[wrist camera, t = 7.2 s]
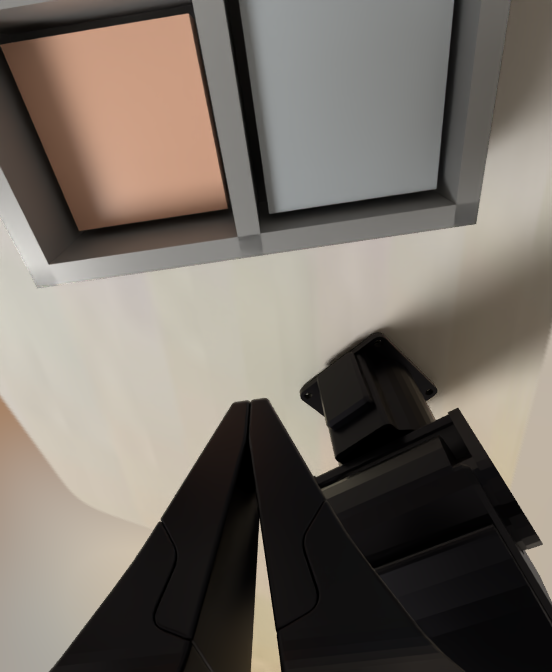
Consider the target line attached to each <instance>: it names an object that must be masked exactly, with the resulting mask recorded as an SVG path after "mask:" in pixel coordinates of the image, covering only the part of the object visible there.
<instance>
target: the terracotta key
mask: <svg viewBox="0 0 552 672" xmlns="http://www.w3.org/2000/svg"><path fill="white" fill-rule="evenodd" d="M0 46H1V49H2V51H3V53H4V56H5V58H6V60H7V63H8V65H9V67H10V70H11V72H12V74H13V77H14V79H15V82H16V84H17V86H18V89H19V91H20V93H21V96H22V98H23V100H24V103H25V105H26V107H27V110H28V112H29V114H30V117H31V119H32V122H33V124H34V126H35V129H36V131H37V133H38V136H39V138H40V140H41V143H42V145H43V147H44V150H45V152H46V154H47V157H48V159H49V162H50V164H51V166H52V169H53V171H54V173H55V176H56V178H57V180H58V183H59V185H60V187H61V190H62V192H63V194H64V197H65V199H66V202H67V204H68V206H69V209H70V211H71V213H72V216H73V218H74V220H75V223H76V225H77V227H78V230H79V231H83V230H89V229H96V228H103V227H109V226H116V225H123V224H129V223H136V222H143V221H149V220H156V219H163V218H169V217H176V216H182V215H189V214H196V213H202V212H209V211H216V210H222V209H228V204H229V194H228V189H227V183H226V178H225V173H224V168H223V163H222V158H221V153H220V148H219V142H218V137H217V132H216V127H215V122H214V117H213V112H212V107H211V101H210V96H209V91H208V86H207V81H206V76H205V71H204V65H203V60H202V55H201V50H200V45H199V40H198V35H197V30H196V24H195V19H194V18H193V17H192V16H191V15H190V14H189V13H188V14H182V15H176V16H170V17H164V18H158V19H152V20H146V21H140V22H133V23H127V24H121V25H115V26H109V27H103V28H97V29H91V30H85V31H79V32H73V33H67V34H61V35H55V36H49V37H43V38H37V39H31V40H25V41H19V42H13V43H7V44H1V45H0Z"/></svg>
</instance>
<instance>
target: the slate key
mask: <svg viewBox="0 0 552 672" xmlns="http://www.w3.org/2000/svg"><path fill="white" fill-rule="evenodd" d="M239 5H240V12H241V19H242V26H243V33H244V40H245V47H246V54H247V61H248V68H249V75H250V82H251V89H252V96H253V103H254V110H255V117H256V124H257V131H258V138H259V145H260V152H261V159H262V166H263V173H264V180H265V187H266V195H267V202H268V209H269V214H272V213H278V212H285V211H292V210H298V209H305V208H312V207H318V206H325V205H332V204H339V203H345V202H352V201H359V200H365V199H372V198H379V197H385V196H392V195H399V194H405V193H412V192H419V191H426V190H432V189H436V188H437V177H438V166H439V156H440V145H441V134H442V124H443V113H444V102H445V92H446V81H447V70H448V60H449V49H450V38H451V28H452V17H453V6H454V0H239Z"/></svg>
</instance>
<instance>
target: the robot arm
mask: <svg viewBox="0 0 552 672" xmlns="http://www.w3.org/2000/svg"><path fill="white" fill-rule="evenodd" d="M377 340H381V341H380V342H379V343H375V342H376V341H377ZM429 389H430V390H429ZM427 390H428V391H427ZM306 393H310V394H308V395H306ZM436 393H437V389H436V387H435V385H434V384H433V383H432V382H431V381H430V380H429V379H428V378H427V377H426V376H425V375H424V374H423V373H422V372H421V371H420V370H419V369H418V368H417V367H416V366H415V365H414V364H413V363H412V362H411V361H410V360H409V359H408V358H407V357H406V356H405V355H404V354H403V353H402V352H401V351H400V350H399V349H398V348H397V347H396V346H395V345H394V344H393V343H392V342H391V341H390V340H389V339H388V338H387V337H386V336H385V335H383V334H382V333H374V334H373V335H371V336H370V337H368V338H367V339H366V340H364V341H363V342H362V343H360V344H359V345H358V346H356V347H355V348H354V349H353V350H351V351H350V352H349V353H346V354H345V355H344V356H342V357H341V358H340V359H338V360H337V361H336V362H335V363H333V364H332V365H331V366H329V367H328V368H327V369H325V370H324V371H323V372H321V373H320V374H319V375H318V376H317V377H316V378H314V379H313V380H312V381H310V382H309V383H308V384H306V385H305V386H304V387H302V388H301V390H300V397H301V399H302V400H303V401H304V402H306V403H307V404H308V405H310V406H311V407H312V408H314V409H315V410H316V411H318V412H319V413H320V414H322V415H323V416H324V417H325V420H326V425H327V427H328V428H329V433H330V437H331V442H332V446H333V451H334V456H335V459H336V460H337V461H338V463H339V467H336V468H334V469H332V470H330V471H328V472H326V473H324V474H322V475H320V476H317V477H316V476H313V475H312V473H311V472H310V470H309V468H308V466H307V465H306V463H305V461H304V460H303V458H302V456H301V455H300V453H299V451H298V449H297V448H296V446H295V444H294V443H293V441H292V439H291V437H290V436H289V434H288V432H287V431H286V429H285V427H284V425H283V424H282V422H281V420H280V419H279V417H278V415H277V413H276V412H275V410H274V408H273V407H272V405H271V403H270V401H269V400H268V399H267V398H261V399H254V400H252V401H251V402H250V401H248V400H246V401H239V402H234V403H233V404H232V405H231V407H230V408H229V410H228V411H227V413H226V415H225V416H224V418H223V420H222V421H221V423H220V424H219V426H218V428H217V429H216V431H215V432H214V434H213V436H212V437H211V439H210V440H209V442H208V444H207V445H206V447H205V448H204V450H203V452H202V453H201V455H200V456H199V458H198V460H197V461H196V463H195V464H194V466H193V468H192V469H191V471H190V472H189V474H188V476H187V477H186V479H185V480H184V482H183V484H182V485H181V487H180V489H179V490H178V492H177V493H176V495H175V497H174V498H173V500H172V501H171V503H170V505H169V506H168V508H167V509H166V511H165V513H164V514H163V516H162V517H161V521H162V522H158V523H157V525H156V527H155V528H154V530H153V532H152V533H151V535H150V536H149V538H148V539H147V541H146V542H145V544H144V546H143V547H142V549H141V550H140V552H139V553H138V555H137V556H136V558H135V560H134V561H133V562H132V564H131V565H130V566H129V568H128V569H127V570H126V572H125V573H124V575H123V576H122V577H121V579H120V580H119V581H118V583H117V584H116V586H115V587H114V588H113V590H112V591H111V592H110V594H109V595H108V596H107V598H106V599H105V600H104V601H103V603H102V604H101V605H100V607H99V608H98V609H97V611H96V612H95V613H94V615H93V616H92V617H91V619H90V620H89V621H88V623H87V624H86V625H85V626H84V628H83V629H82V630H81V632H80V633H79V634H78V636H77V637H76V638H75V640H74V641H73V642H72V644H71V645H70V646H69V648H68V649H67V650H66V651H65V653H64V654H63V656H62V657H61V658H60V659H59V661H58V662H57V663H56V664H55V665H54V667H53V668H52V669H51V670H50V671H49V672H251V658H252V640H253V622H254V605H255V587H256V569H257V552H258V534H259V518H260V525H261V532H262V539H263V545H264V552H265V559H266V566H267V573H268V580H269V586H270V593H271V600H272V607H273V614H274V621H275V628H276V632H277V641H278V649H279V656H280V664H281V672H552V602H551V599H550V597H549V595H548V593H547V591H546V588H545V586H544V584H543V582H542V580H541V577H540V575H539V574H538V572H537V570H536V569H535V567H534V565H533V563H532V562H531V560H530V558H529V557H528V555H527V553H526V552H525V550H526V549H531V548H534V547H537V546H540V545H542V542H541V540H540V539H539V537H538V535H537V534H536V532H535V530H534V529H533V527H532V526H531V524H530V522H529V521H528V519H527V517H526V516H525V515H524V513H523V511H522V509H521V508H520V506H519V505H518V503H517V501H516V500H515V498H514V496H513V495H512V493H511V492H510V490H509V488H508V487H507V485H506V484H505V482H504V480H503V479H502V477H501V476H500V474H499V472H498V471H497V469H496V467H495V466H494V464H493V463H492V461H491V459H490V458H489V456H488V455H487V453H486V451H485V450H484V448H483V447H482V445H481V443H480V442H479V440H478V439H477V437H476V436H475V434H474V432H473V431H472V429H471V428H470V426H469V424H468V423H467V421H466V420H465V418H464V416H463V415H462V413H461V412H460V410H459V408H456V409H454V410H452V411H450V412H448V415H446V416H444V417H442V418H440V419H438V420H435V418H434V416H433V414H432V412H431V410H430V408H429V406H428V405H427V403H426V401H427V400H428V399H430V398H432V397H433V396H434V395H436Z"/></svg>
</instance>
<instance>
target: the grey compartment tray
mask: <svg viewBox="0 0 552 672" xmlns="http://www.w3.org/2000/svg"><path fill="white" fill-rule="evenodd" d="M510 3H511V0H454V6H453V17H452V28H451V38H450V49H449V60H448V70H447V81H446V92H445V102H444V113H443V124H442V134H441V145H440V156H439V166H438V177H437V188H436V189H432V190H426V191H419V192H412V193H405V194H399V195H392V196H385V197H379V198H372V199H365V200H359V201H352V202H345V203H339V204H332V205H325V206H318V207H312V208H305V209H298V210H292V211H285V212H278V213H272V214H269V209H268V202H267V195H266V187H265V180H264V173H263V166H262V159H261V152H260V145H259V138H258V131H257V124H256V117H255V110H254V103H253V96H252V89H251V82H250V75H249V68H248V61H247V54H246V47H245V40H244V33H243V26H242V19H241V12H240V5H239V0H0V45H1V44H7V43H13V42H19V41H25V40H31V39H37V38H43V37H49V36H55V35H61V34H67V33H73V32H79V31H85V30H91V29H97V28H103V27H109V26H115V25H121V24H127V23H133V22H140V21H146V20H152V19H158V18H164V17H170V16H176V15H182V14H188V13H189V14H190V15H191V16H192V17H193V18H194V19H195V24H196V30H197V35H198V40H199V45H200V50H201V55H202V60H203V65H204V71H205V76H206V81H207V86H208V91H209V96H210V101H211V107H212V112H213V117H214V122H215V127H216V132H217V137H218V142H219V148H220V153H221V158H222V163H223V168H224V173H225V178H226V183H227V189H228V194H229V204H228V209H222V210H216V211H209V212H202V213H196V214H189V215H182V216H176V217H169V218H163V219H156V220H149V221H143V222H136V223H129V224H123V225H116V226H109V227H103V228H96V229H89V230H83V231H79V230H78V227H77V225H76V223H75V220H74V218H73V216H72V213H71V211H70V209H69V206H68V204H67V202H66V199H65V197H64V194H63V192H62V190H61V187H60V185H59V183H58V180H57V178H56V176H55V173H54V171H53V169H52V166H51V164H50V162H49V159H48V157H47V154H46V152H45V150H44V147H43V145H42V143H41V140H40V138H39V136H38V133H37V131H36V129H35V126H34V124H33V122H32V119H31V117H30V114H29V112H28V110H27V107H26V105H25V103H24V100H23V98H22V96H21V93H20V91H19V89H18V86H17V84H16V82H15V79H14V77H13V74H12V72H11V70H10V67H9V65H8V63H7V60H6V58H5V56H4V53H3V51H2V49H1V46H0V219H1V220H2V222H3V224H4V226H5V228H6V230H7V232H8V234H9V235H10V237H11V239H12V241H13V243H14V245H15V247H16V249H17V251H18V252H19V254H20V256H21V258H22V260H23V262H24V264H25V266H26V268H27V269H28V271H29V273H30V275H31V277H32V279H33V281H34V283H35V285H36V286H37V288H42V287H49V286H55V285H62V284H69V283H76V282H83V281H90V280H97V279H103V278H110V277H117V276H124V275H131V274H138V273H144V272H151V271H158V270H165V269H172V268H179V267H185V266H192V265H199V264H206V263H213V262H220V261H227V260H233V259H240V258H247V257H254V256H261V255H268V254H274V253H281V252H288V251H295V250H302V249H309V248H316V247H322V246H329V245H336V244H343V243H350V242H357V241H363V240H370V239H377V238H384V237H391V236H398V235H404V234H411V233H418V232H425V231H432V230H439V229H446V228H452V227H459V226H466V225H473V224H476V221H477V215H478V208H479V202H480V196H481V189H482V183H483V176H484V170H485V164H486V157H487V151H488V144H489V138H490V132H491V125H492V119H493V112H494V106H495V100H496V93H497V87H498V80H499V74H500V68H501V61H502V55H503V48H504V42H505V35H506V29H507V23H508V16H509V10H510Z"/></svg>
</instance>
